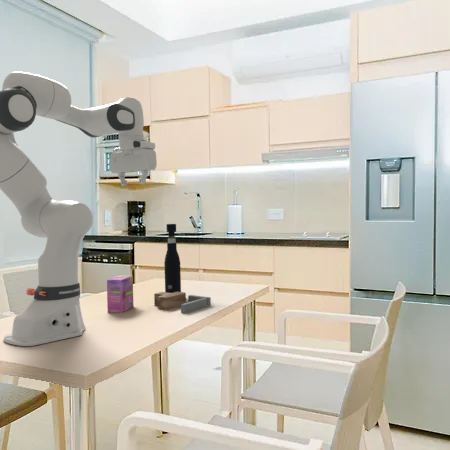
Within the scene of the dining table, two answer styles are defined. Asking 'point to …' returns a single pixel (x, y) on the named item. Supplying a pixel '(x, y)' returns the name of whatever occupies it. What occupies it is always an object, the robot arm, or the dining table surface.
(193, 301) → the corner fence
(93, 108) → the robot arm
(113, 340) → the dining table surface
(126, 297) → the box
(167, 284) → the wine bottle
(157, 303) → the t block
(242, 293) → the dining table surface
